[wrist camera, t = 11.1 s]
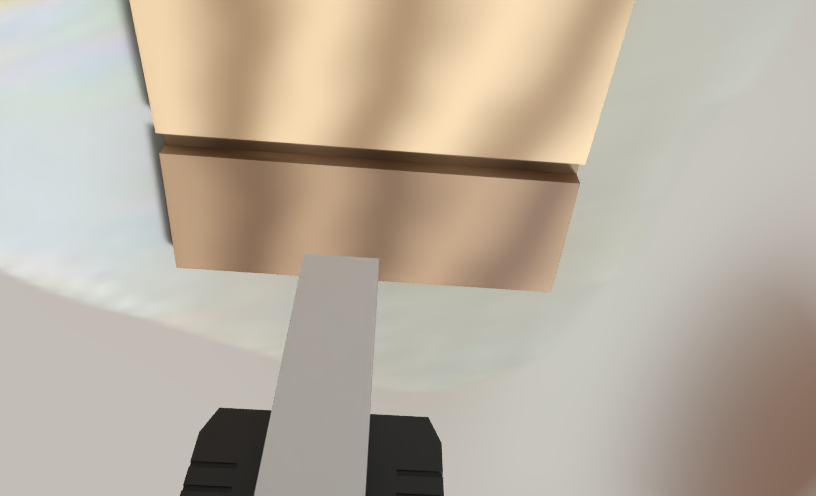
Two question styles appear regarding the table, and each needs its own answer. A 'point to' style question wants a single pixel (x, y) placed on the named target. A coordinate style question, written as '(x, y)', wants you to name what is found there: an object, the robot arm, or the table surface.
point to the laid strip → (367, 211)
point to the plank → (385, 72)
